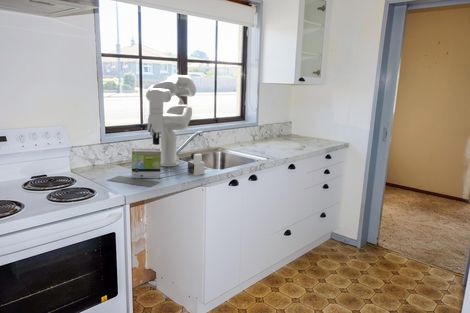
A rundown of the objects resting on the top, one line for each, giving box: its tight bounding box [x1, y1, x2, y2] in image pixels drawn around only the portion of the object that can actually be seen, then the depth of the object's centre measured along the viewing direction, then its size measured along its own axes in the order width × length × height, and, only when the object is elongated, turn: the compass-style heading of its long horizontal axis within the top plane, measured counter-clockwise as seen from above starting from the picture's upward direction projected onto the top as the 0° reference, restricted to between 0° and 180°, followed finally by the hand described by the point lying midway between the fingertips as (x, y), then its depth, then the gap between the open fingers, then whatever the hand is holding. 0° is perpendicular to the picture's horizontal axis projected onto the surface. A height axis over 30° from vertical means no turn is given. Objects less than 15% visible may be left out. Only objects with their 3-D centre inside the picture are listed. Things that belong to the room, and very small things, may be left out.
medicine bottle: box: [187, 152, 206, 176], centre depth 208 cm, size 7×7×12 cm
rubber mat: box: [106, 175, 162, 188], centre depth 189 cm, size 10×26×1 cm, turn 70°
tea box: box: [131, 147, 162, 179], centre depth 198 cm, size 15×10×15 cm, turn 106°
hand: (156, 144), depth 205 cm, fingers closed
